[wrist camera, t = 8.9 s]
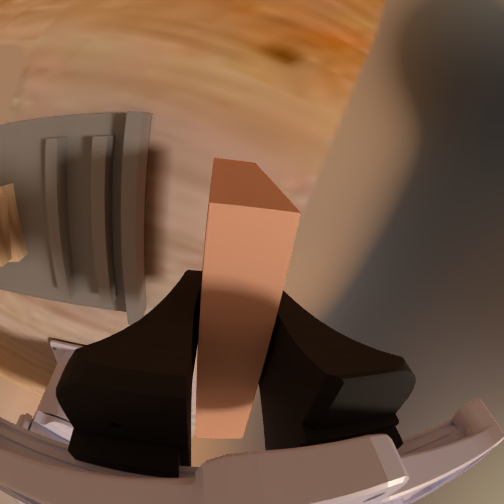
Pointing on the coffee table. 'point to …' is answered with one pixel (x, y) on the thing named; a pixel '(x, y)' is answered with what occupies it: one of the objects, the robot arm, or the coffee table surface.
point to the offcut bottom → (14, 225)
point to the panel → (239, 291)
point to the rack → (79, 208)
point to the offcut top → (4, 231)
